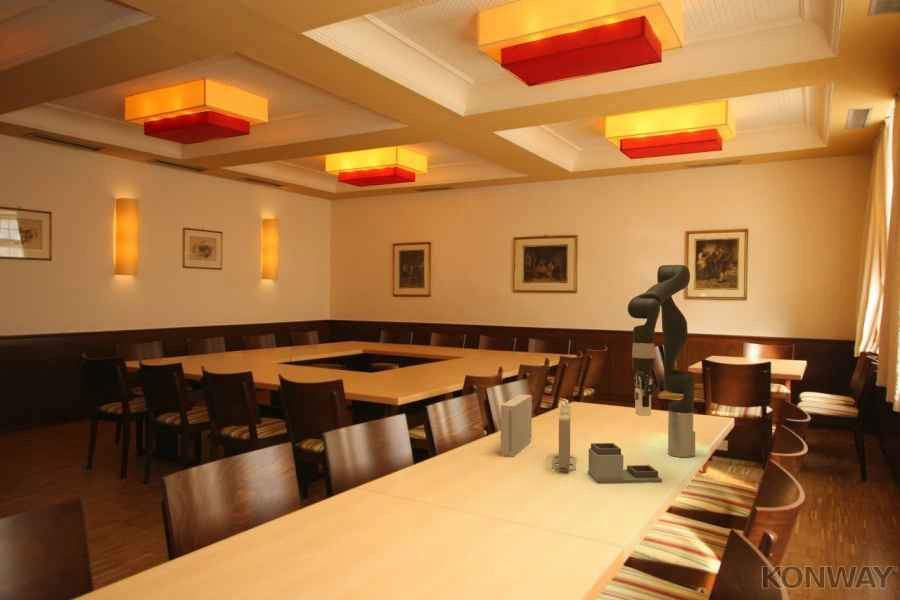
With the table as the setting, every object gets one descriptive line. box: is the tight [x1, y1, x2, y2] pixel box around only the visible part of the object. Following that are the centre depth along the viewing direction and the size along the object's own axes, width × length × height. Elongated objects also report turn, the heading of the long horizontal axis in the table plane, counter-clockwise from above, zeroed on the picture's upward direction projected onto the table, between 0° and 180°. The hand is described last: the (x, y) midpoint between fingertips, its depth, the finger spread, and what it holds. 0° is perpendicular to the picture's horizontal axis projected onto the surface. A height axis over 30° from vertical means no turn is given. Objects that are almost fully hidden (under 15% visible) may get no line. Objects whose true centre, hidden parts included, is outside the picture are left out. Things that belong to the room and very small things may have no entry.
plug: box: [633, 388, 652, 417], centre depth 215 cm, size 5×4×9 cm
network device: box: [550, 404, 577, 472], centre depth 232 cm, size 26×9×20 cm, turn 168°
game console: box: [500, 393, 533, 458], centre depth 254 cm, size 6×27×20 cm, turn 158°
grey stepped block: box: [587, 442, 663, 484], centre depth 215 cm, size 22×12×11 cm, turn 94°
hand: (643, 405), depth 215 cm, fingers closed on plug, 4 cm apart
